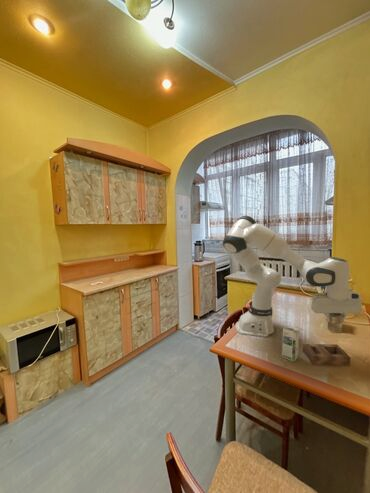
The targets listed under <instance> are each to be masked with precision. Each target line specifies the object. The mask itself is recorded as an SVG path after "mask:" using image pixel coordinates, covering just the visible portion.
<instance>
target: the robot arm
mask: <svg viewBox="0 0 370 493" xmlns="http://www.w3.org/2000/svg"><path fill="white" fill-rule="evenodd" d="M222 245H223V247H224V249H225V250H226V251H227V252H229V253H230V255H231V256H232V257H233V258H234V259H235V260H236V261H237V263H239V265H240V266H241V267H242V268H243V270H244V272H245V276H246V277H247V278H248V279H249V280H250V281H252V282H254V283H256V289H255V290H254V291H253V292H252V295H251V305H250V304H248V303H247V304H246V307H247V309H248V311H246V312H245V313H243V314H241V315H240V316H239V321H237V322H236V323H235V329H236V332H237V333H238V334H240V335H247V336H256V337H257V336H258V337H264V338H266V337H267V338H268V336H269V335H271V334H273V333H274V332H275V329H274V328H275V327H274V323H273V313H274V311H273V306H272V305H273V300H272V299H273V292H274V291H275V289H276V288H278V287H279V285H280V284H281V282H282V276H281V274H280V273H279V272H278V271H276V270H275V269H273V268H271V267H269V266H268V267H267V266H265V265H264V264H262V263H261V261H260V257H259V254H258V253H257V252H256V250H254V248H253V247H252V246H254V247H255V248H256V249H257V250H258V251H260V252H262V253H263V254H264V255H266V256H269V257H270V258H273V259H281V260H283V261H285V262H287V263H288V264H289V265H290V266H292V267H294V268H295V269H296V270H297V272H298V273H299V276H300V277H302V278H303V279H304V280H305V281H306V282H307V284H309V285H310V286H313V287H324V288H325V289H324V292H315V293H314V294H313V295H312V296H311V300H312V301H311V305H310V308H311V310H312V312H314V313H315V314H323V315H324V316H325V318H326V319H325V320H326V322H327V323H328V322H331V320H332V319H331V318H330V317H329V316H328V315H329V313H342V315H343V317H342V322H343V323H344V322H345V319H346V318H347V316H348V314H360V313H362V310H363V309H362V308H363V305H362V304H363V303H362V300H361V298H362V294H360V293H359V292H357V291H355V290H352V289H350V286H349V281H350V278H351V272H350V271H351V270H350V269H351V268H350V263H349V261H348V260H346V259H343V258H339V257H335V256H331V257H328V258H327V259H325V260H324V261H321V262H317V261H315V260H312V259H308V258H304V257H303V256H302V255H300V254H299V253H298V252H296V251H295V250H293V249H292V248H291V247H290V246H289V244H288V242H287V240H286V239H284V238H283V236H281V235H280V234H279V233H277V232H276V231H274V230H272V228H269V227H267V226H266V225H263V224H261V223H257V221H256V220H255V218H253V217H252V216H249V215H242V216H241V217H239V218H238V219H237V220H236V221H235V223H234V224H232V226H231V227H230V229H229V230H228V232H227V234H226V235H225V237H224V238H223V241H222Z"/></svg>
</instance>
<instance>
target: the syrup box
mask: <svg viewBox="0 0 370 493" xmlns="http://www.w3.org/2000/svg"><path fill="white" fill-rule="evenodd" d="M299 340H300V328H296V327H294V326H293V327H292V326H289V325H286V326H285V327H283V329H282V348H281V349H282V351H281V358H283V359H287V360H289V361H291V362H292V363H295V362H296V360H297V359H298V357H299V346H300V345H299V342H300V341H299Z"/></svg>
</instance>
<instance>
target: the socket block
mask: <svg viewBox="0 0 370 493" xmlns="http://www.w3.org/2000/svg"><path fill="white" fill-rule="evenodd" d="M302 352H303V354H305V356H306V357H307V359H308V361H309V362H310V363H311V365H320V366H323V365H324V366H351V356H350V355H348V353H347V352H345V351H344V349H342V348H341V346H340V345H338V344H336V343H335V344H332V343H331V344H330V343H328V344H327V343H325V344H324V343H303V344H302Z"/></svg>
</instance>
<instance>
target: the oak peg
mask: <svg viewBox="0 0 370 493" xmlns="http://www.w3.org/2000/svg"><path fill="white" fill-rule="evenodd" d="M328 316H329V317H330V318H331V319H332V320H331V322H327V328H326V329H327V330H328V332H330V333H331V334H342V331H343V326H342V317H343V315H342V314H341V313H329V315H328Z"/></svg>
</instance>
